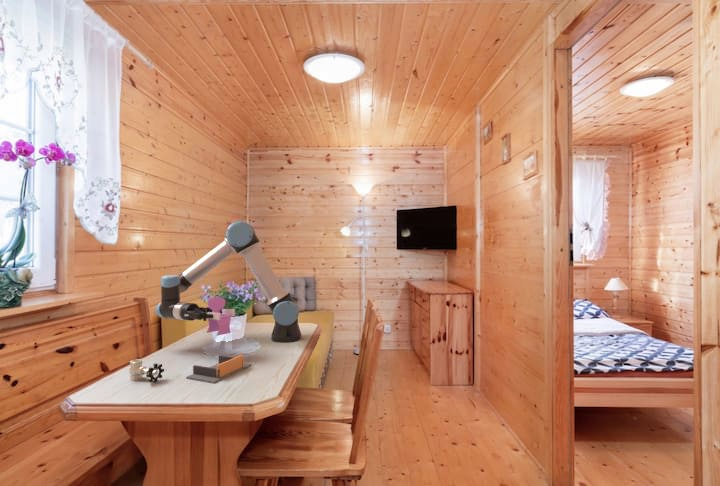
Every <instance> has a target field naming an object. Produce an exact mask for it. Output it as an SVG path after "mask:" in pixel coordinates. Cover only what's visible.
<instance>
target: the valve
mask: <svg viewBox="0 0 720 486" xmlns="http://www.w3.org/2000/svg"><path fill="white" fill-rule="evenodd" d="M152 366H153V367H147V366H143V359H141V358H140V359H133V360H130V361H129V367H130V368H129V374H130V375H129V379H130V381H138V380H141V379H142V378H143V376H144V375H146V378H148V380H147V382H148V383H158V381H159V379H162V378H163V375H162V373H164V372H165V369H164V368H163V364H162V363H159V364H158V363H153V365H152Z"/></svg>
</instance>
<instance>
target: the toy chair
mask: <svg viewBox="0 0 720 486" xmlns="http://www.w3.org/2000/svg"><path fill="white" fill-rule="evenodd" d="M206 305H207V307H209V308H210V309H211V310H212V312H213V313H220V310H221V309H222V308H225V305H226V299H225V298H223V297H221V296H213V297H211V298H210V299H209V300H208V301H207V303H206ZM231 319H232V318H231V316H230V315H226V314H221V320H212V319H207V321H208V327H207V331H206V333H207V334H208V333H209V334H210V333H214V332H217V333H216V336H222V335H227V334H230V333H231V329H230V324H231Z"/></svg>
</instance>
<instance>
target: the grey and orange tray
mask: <svg viewBox="0 0 720 486" xmlns="http://www.w3.org/2000/svg"><path fill="white" fill-rule="evenodd" d="M244 361H245V360H244V354H239V355H238V356H236V357H235V356H234V357H233V356H228V355H222V354H220V355H218V363H217V364H214V365H212V366H209V367H208V366H203V365H198V364H197V365H196V364H194V365H192V366H193V367H192V368H193V369H192V371H193V373H192V374H190V375H187V376H185V378H186V379H187V380H193V381H197V382H198V381H199V382H204V383H210V384H216V383H218V382H220V381H222V380H224V379H226V378H229V377H231V376H233V375H235V374H237V373H240V372H241V371H243V370H246V369H247V368H249V367H251V366H252V363H251V364H250V363H247V362H246V363H245V362H244Z"/></svg>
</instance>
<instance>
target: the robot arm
mask: <svg viewBox="0 0 720 486" xmlns="http://www.w3.org/2000/svg"><path fill="white" fill-rule="evenodd" d="M260 245H261V241H260V240H259V238H258V236H257V234H256V231H255V229H254V227H253V226H252V225H251V224H249V223H248V222H246V221H243V220H237V221H234V222H233V223H232V222H231V224H230V225H229V226H228V228H227V229H226V235H225V237H224V240H223V241H221V242H220V243H219V244H217V246H215V247H213V249H211V250H209V252H207V253H205V254H204V255H203V256H202V257H200V258H199V259H198V260H197V261H195V262H194V263H193V264H191V265H190V266H188V268H187V269H185V270H184V271H183V272H181V273H180V274H179V275H177V274H174V275H173V274H172V275H171V274H170V275H163V276H161V283H160V286H161V287H160V290H161V291H160V292H161V299H160V300H161V302H158V304H157V305H156V307H155V313H156V315H157V316H158V317H159V318H163V319H167V320H168V319H170V320H171V319H172V320H180V321H181V322H182V321H195V320H197V321H198V320H199V321H201V320H203V322H206V321H207V320H208V319H212V320H221V314H226V315H230V317H235V316H236V309H233V308H226V307H224V308H222V309H221V310H222V312H221V310H220V313H213V312H212V310H211V309H210V308H209V307H208V306H207V307H203V306H199V305H198V304H197V303H194V302H192V303H191V302H181V293H185V292H186V291H187V290H188V289H189V288H190V287H192V285H194V284H195V283H196V282H197V281H199V280H200V279H201V278H203V277H204V276H205V275H207V274H208V273H209V272H211V271H212V270H213V269H215V268H216V267H217V266H218V265H220V264H221V263H222V262H223V261H225V260H227V258H228V257H230V256H231V255H232V254H234V253H236V254H237V256H238V255H239V256H242V258H243V260H244V261H245V263H246V264H247V266H248V268H249V269H250V271H251V273H252V275H253V277H254V278H255V279H256V281H257V283H258V284H259V286H260V288H261V290H262V291H263V293H264V295H265V297H266V298H267V300H268V301H267V306H268V308H269V309H270V312H271V313H272V317H273V320H274V326H273V329H272V332H271V340H272V342H277V343H290V342H296V341H299V340H301V339H302V332H301V328H300V326H299V321H298V320H299V316H300V309H299V298H298V294H297V293H291V292H290V291H287V290H285V289H284V287H283V285H282V284H281V282H280V280H279V278H278V277H277V275H276V273H275V272H274V270H273V268H272V266H271V265H270V263H269V261H268V260H267V258H266V255H264V253H263V251H262V249H261V247H260ZM225 308H226V309H225Z"/></svg>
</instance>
